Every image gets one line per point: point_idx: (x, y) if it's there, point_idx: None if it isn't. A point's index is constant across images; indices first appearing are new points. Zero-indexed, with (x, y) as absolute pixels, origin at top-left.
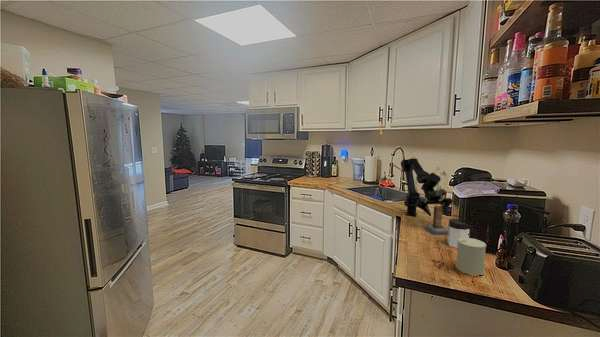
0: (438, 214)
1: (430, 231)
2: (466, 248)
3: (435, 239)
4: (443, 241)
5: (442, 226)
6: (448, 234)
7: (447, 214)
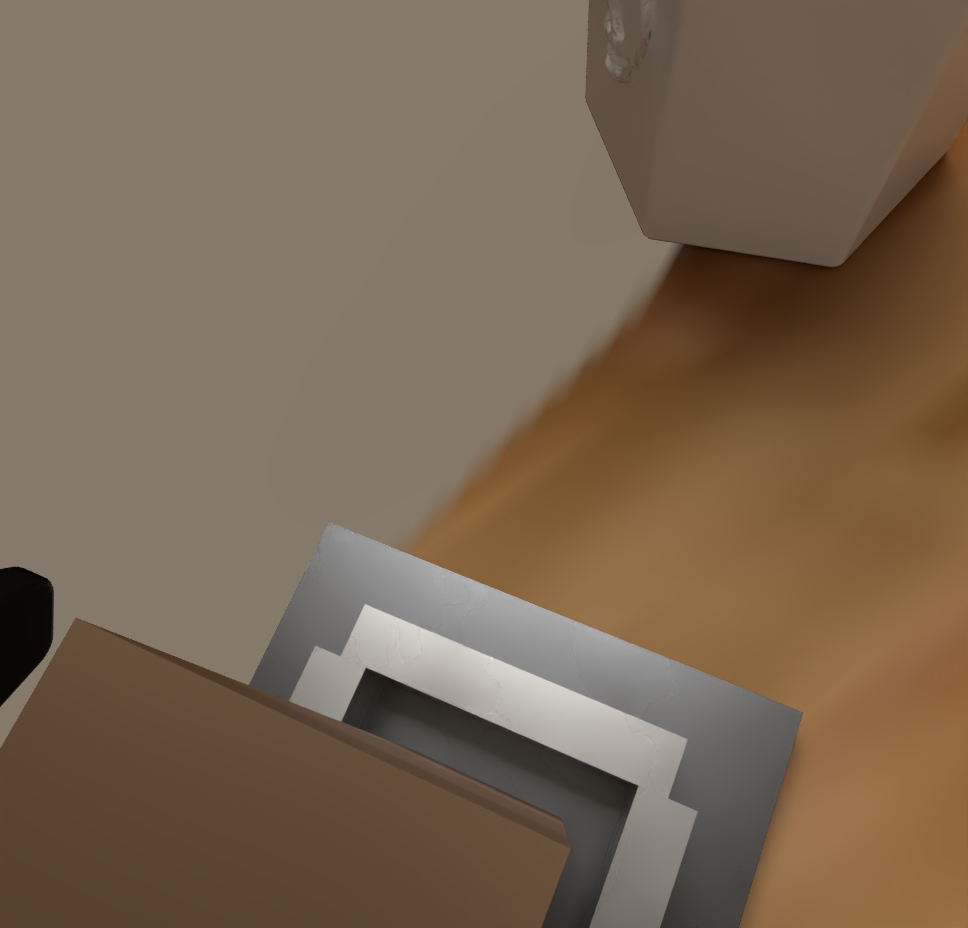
0: (452, 779)
1: (760, 840)
2: None
3: (951, 480)
4: (861, 340)
5: None
6: (965, 72)
7: (13, 582)
